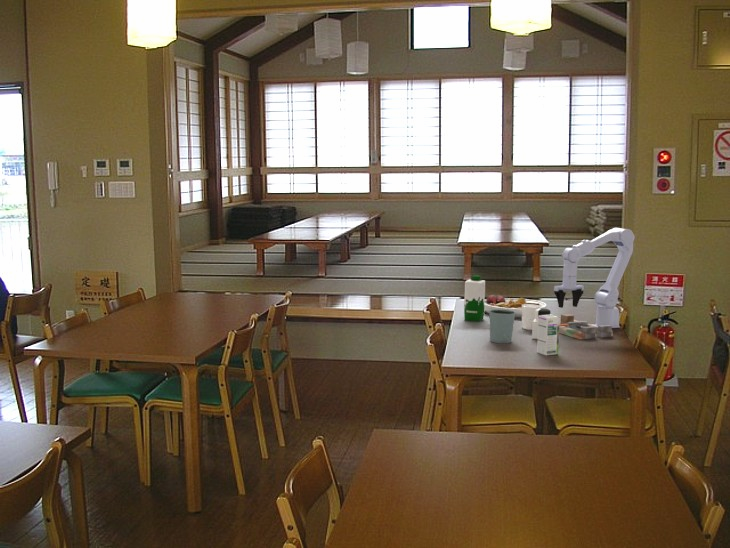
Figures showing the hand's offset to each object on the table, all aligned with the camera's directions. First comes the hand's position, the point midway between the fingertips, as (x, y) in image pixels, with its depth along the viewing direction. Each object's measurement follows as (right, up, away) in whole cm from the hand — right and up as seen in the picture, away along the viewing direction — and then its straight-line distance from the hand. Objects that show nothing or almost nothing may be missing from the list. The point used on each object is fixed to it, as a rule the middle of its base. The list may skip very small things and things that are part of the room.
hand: (567, 306), depth 350 cm
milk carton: (-38, -7, +18) cm, 43 cm away
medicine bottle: (-15, -12, -18) cm, 27 cm away
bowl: (-16, -5, +38) cm, 41 cm away
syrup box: (-19, -16, -46) cm, 53 cm away
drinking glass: (-33, -13, -25) cm, 43 cm away
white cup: (-16, -10, +1) cm, 19 cm away
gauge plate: (+1, -11, -8) cm, 14 cm away
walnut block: (0, -10, +1) cm, 10 cm away
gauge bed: (+3, -10, -5) cm, 12 cm away
